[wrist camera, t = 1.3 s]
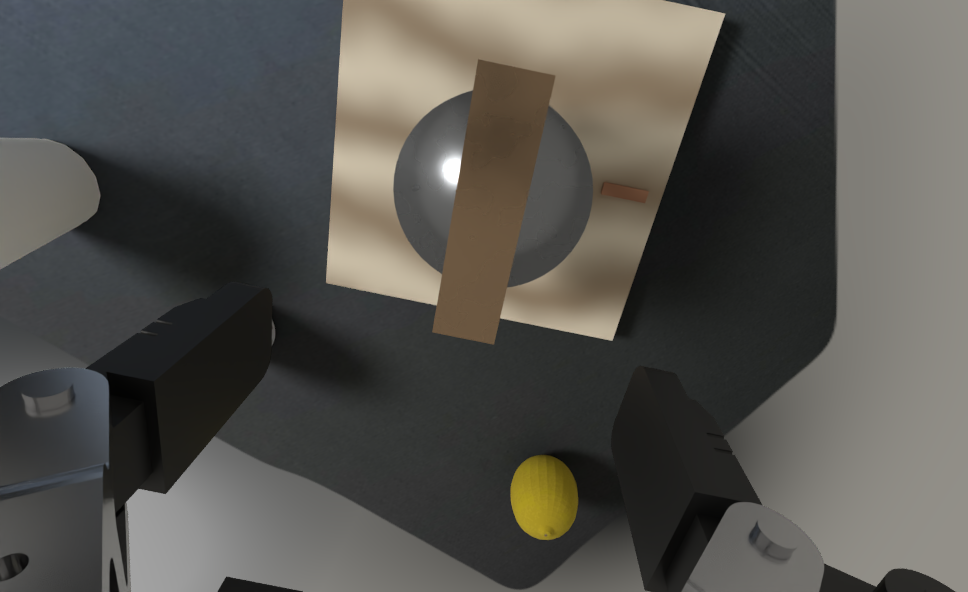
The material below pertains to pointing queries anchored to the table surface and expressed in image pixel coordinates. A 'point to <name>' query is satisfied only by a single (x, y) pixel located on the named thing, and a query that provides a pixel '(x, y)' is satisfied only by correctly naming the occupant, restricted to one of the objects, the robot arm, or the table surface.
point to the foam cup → (41, 194)
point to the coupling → (492, 194)
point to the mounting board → (575, 96)
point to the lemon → (544, 497)
